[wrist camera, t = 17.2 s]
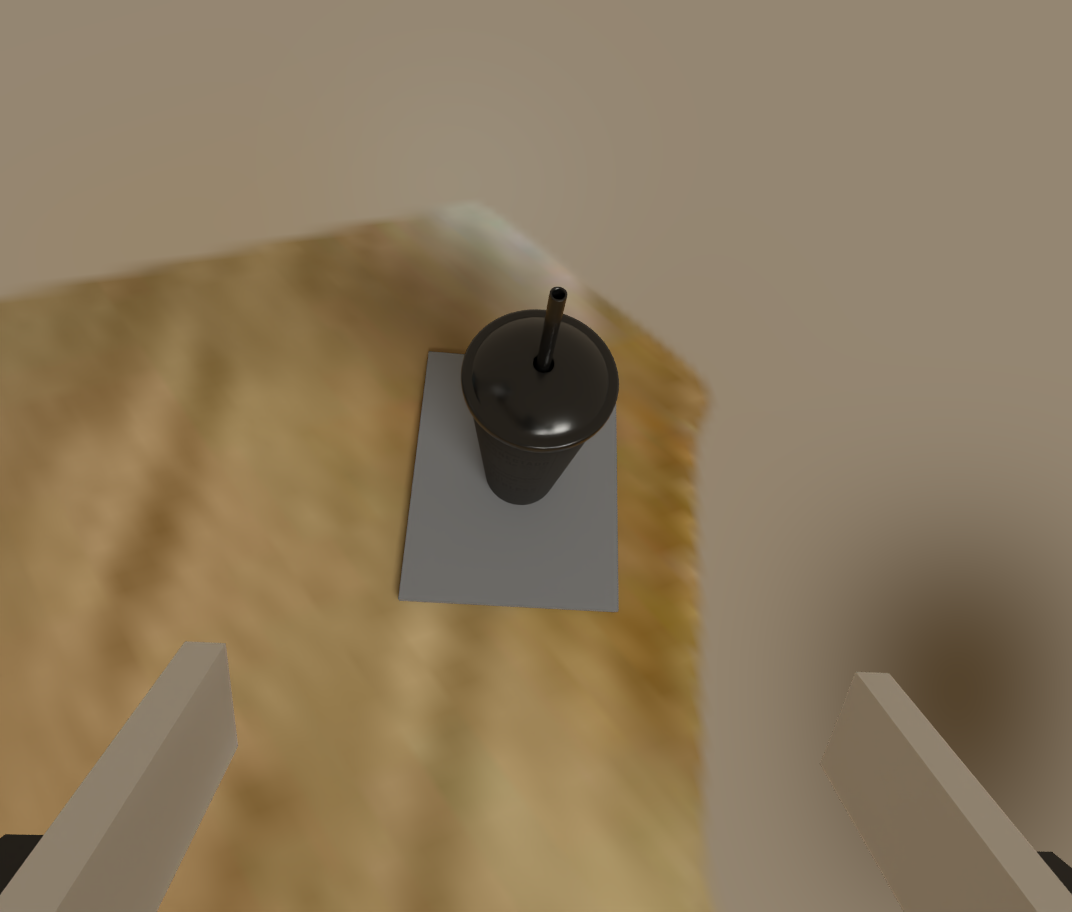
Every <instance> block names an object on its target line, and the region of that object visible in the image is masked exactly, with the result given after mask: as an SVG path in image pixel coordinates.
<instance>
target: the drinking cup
mask: <svg viewBox="0 0 1072 912" xmlns="http://www.w3.org/2000/svg"><path fill="white" fill-rule="evenodd" d="M566 299H567V292H566V290H565V289H564V288H562V287H554V288H552V289H551V291H550V294H549V299H548V304H547V310H523V311H517V312H513V313H510V314H507V315H504V316H502V317H500V318H498V319H496V320H494V321H493V322H491V323H490V324H488V325H487V326H486V327H484V328H483V329H482V330H481V331H480V332H479V333H478V334H477V335H476V336H475V338H474V339H473V340H472V342H471V343H470V345H469V347H468V348H467V350H466V353H465V355H464V359H463V362H462V368H461V387H462V393H463V396H464V400H465V403H466V405H467V407H468V409H469V411H470V413H471V415H472V416H473V419H474V424H475V428H476V433H477V438H478V442H479V447H480V452H481V457H482V461H483V466H484V471H485V475H486V480H487V483H488V485H489V487H490V489H491V490H492V491H493V493H494V494H495V495H496V496H497V497H499V498H500V499H502V500H503V501H505V502H508V503H511V504H515V505H527V504H532V503H534V502H537V501H539V500H540V499H542V498H543V497H544V496H545V495H546V494H547V493H548V492H549V491H550V489H551V488H552V487H553V485H554V484H555V482H556V481H557V480H558V478H559V477H560V476H561V474H562V473H563V472H564V470H565V469H566V467H567V466H568V465H569V463H570V462H571V461H572V459H573V458H574V457H575V455H576V454H577V452H578V451H579V450H580V448H581V447H582V446H583V444H584V443H585V442H586V441H587V440H589V439H590V438H591V437H593V436H594V435H595V434H596V433H597V432H598V431H599V430H600V429H601V428H602V427H603V426H604V425H605V423H606V422H607V420H608V419H609V417H610V415H611V413H612V411H613V409H614V407H615V404H616V401H617V397H618V391H619V378H618V371H617V367H616V364H615V361H614V358H613V356H612V354H611V352H610V350H609V349H608V347H607V346H606V344H605V343H604V342H603V340H602V339H601V338H600V337H599V336H598V335H597V334H596V333H595V332H594V331H593V330H592V329H591V328H589V327H588V326H587V325H585V324H583V323H582V322H580V321H578V320H576V319H575V318H572V317H570V316H568V315H565V314H563V311H564V307H565V303H566Z"/></svg>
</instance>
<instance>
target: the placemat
mask: <svg viewBox="0 0 1072 912" xmlns="http://www.w3.org/2000/svg"><path fill="white" fill-rule="evenodd" d="M464 355H465V354H454V353H443V352H431V351H429V354H428V362H427V371H426V379H425V387H424V395H423V403H422V411H421V419H420V427H419V435H418V444H417V452H416V460H415V468H414V476H413V484H412V492H411V500H410V509H409V517H408V525H407V533H406V541H405V549H404V557H403V565H402V574H401V582H400V590H399V598H398V599H399V601H417V602H435V603H454V604H473V605H492V606H510V607H529V608H548V609H566V610H585V611H604V612H618V533H617V447H616V404H615V407H614V409H613V411H612V413H611V415H610V417H609V419H608V420H607V422H606V423H605V425H604V426H603V427H602V428H601V429H600V430H599V431H598V432H597V433H596V434H595V435H594V436H593V437H591V438H590V439H589V440H587V441H586V442H585V443H584V444H583V446H582V447H581V448H580V450H579V451H578V452H577V454H576V455H575V457H574V458H573V459H572V461H571V462H570V463H569V465H568V466H567V467H566V469H565V470H564V472H563V473H562V474H561V476H560V477H559V478H558V480H557V481H556V482H555V484H554V485H553V487H552V488H551V489H550V491H549V492H548V493H547V494H546V495H545V496H544V497H543V498H542V499H540V500H539V501H537V502H534V503H532V504H527V505H515V504H511V503H508V502H505V501H503V500H502V499H500V498H499V497H497V496H496V495H495V494H494V493H493V491H492V490H491V489H490V487H489V485H488V483H487V480H486V475H485V471H484V466H483V461H482V457H481V452H480V447H479V442H478V438H477V433H476V428H475V424H474V419H473V416H472V415H471V413H470V411H469V409H468V407H467V405H466V403H465V400H464V396H463V393H462V387H461V368H462V362H463V359H464Z"/></svg>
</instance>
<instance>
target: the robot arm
mask: <svg viewBox="0 0 1072 912" xmlns="http://www.w3.org/2000/svg"><path fill="white" fill-rule="evenodd" d="M237 747H238V742H237V734H236V725H235V717H234V709H233V701H232V692H231V684H230V676H229V667H228V659H227V651H226V643H207V642H184V644H183V645H182V646H181V648H180V649H179V651H178V652H177V653H176V655H175V656H174V657H173V659H172V660H171V662H170V663H169V664H168V666H167V667H166V668H165V670H164V671H163V672H162V674H161V675H160V677H159V678H158V679H157V681H156V682H155V683H154V685H153V686H152V688H151V689H150V690H149V692H148V693H147V694H146V696H145V697H144V699H143V700H142V701H141V703H140V704H139V705H138V707H137V708H136V709H135V711H134V712H133V714H132V715H131V716H130V718H129V719H128V720H127V722H126V723H125V725H124V726H123V727H122V729H121V730H120V731H119V733H118V734H117V735H116V737H115V738H114V740H113V741H112V742H111V744H110V745H109V746H108V748H107V749H106V751H105V752H104V753H103V755H102V756H101V757H100V759H99V760H98V762H97V763H96V764H95V766H94V767H93V768H92V770H91V771H90V772H89V774H88V775H87V777H86V778H85V779H84V781H83V782H82V783H81V785H80V786H79V788H78V789H77V790H76V792H75V793H74V794H73V796H72V797H71V799H70V800H69V801H68V803H67V804H66V805H65V807H64V808H63V809H62V811H61V812H60V814H59V815H58V816H57V818H56V819H55V820H54V822H53V823H52V825H51V826H50V827H49V829H48V830H47V831H46V833H45V834H44V835H10V834H5V835H4V836H3V837H1V838H0V912H157V910H158V908H159V906H160V904H161V902H162V900H163V898H164V896H165V894H166V892H167V890H168V888H169V885H170V883H171V881H172V879H173V877H174V875H175V873H176V871H177V869H178V867H179V865H180V863H181V861H182V859H183V857H184V855H185V853H186V851H187V849H188V847H189V845H190V843H191V841H192V839H193V837H194V835H195V833H196V830H197V828H198V826H199V824H200V822H201V820H202V818H203V816H204V814H205V812H206V810H207V808H208V806H209V804H210V802H211V800H212V798H213V796H214V794H215V792H216V790H217V788H218V786H219V784H220V782H221V780H222V778H223V775H224V773H225V771H226V769H227V767H228V765H229V763H230V761H231V759H232V757H233V755H234V753H235V751H236V749H237ZM820 765H821V767H822V768H823V771H824V772H825V774H826V776H827V778H828V779H829V781H830V783H831V785H832V786H833V788H834V790H835V792H836V793H837V795H838V797H839V799H840V801H841V802H842V804H843V806H844V807H845V809H846V811H847V813H848V814H849V816H850V818H851V820H852V822H853V823H854V825H855V827H856V829H857V831H858V832H859V834H860V836H861V838H862V839H863V841H864V843H865V845H866V846H867V848H868V850H869V852H870V853H871V855H872V857H873V859H874V860H875V862H876V864H877V866H878V867H879V869H880V871H881V873H882V875H883V876H884V878H885V880H886V881H887V883H888V885H889V887H890V888H891V890H892V892H893V894H894V895H895V897H896V899H897V901H898V903H899V904H900V906H901V908H902V910H903V912H1072V868H1071V867H1070V866H1068V865H1067V864H1066V863H1065V862H1063V861H1062V860H1061V859H1060V858H1059V857H1057V856H1056V855H1055V854H1054V853H1053V852H1036V851H1035V849H1034V848H1033V847H1032V846H1031V845H1030V843H1029V842H1028V841H1027V840H1026V839H1025V837H1024V836H1023V835H1022V834H1021V832H1020V831H1019V830H1018V829H1017V828H1016V826H1015V825H1014V824H1013V823H1012V822H1011V820H1010V819H1009V818H1008V817H1007V816H1006V814H1005V813H1004V812H1003V811H1002V810H1001V808H1000V807H999V806H998V805H997V803H996V802H995V801H994V800H993V799H992V797H991V796H990V795H989V794H988V793H987V791H986V790H985V789H984V788H983V786H982V785H981V784H980V783H979V782H978V780H977V779H976V778H975V777H974V776H973V774H972V773H971V772H970V771H969V770H968V768H967V767H966V766H965V765H964V763H963V762H962V761H961V760H960V759H959V758H958V756H957V755H956V754H955V753H954V751H953V750H952V749H951V748H950V746H949V745H948V744H947V743H946V742H945V740H944V739H943V738H942V737H941V736H940V734H939V733H938V732H937V731H936V730H935V728H934V727H933V726H932V725H931V724H930V722H929V721H928V720H927V719H926V718H925V716H924V715H923V714H922V713H921V711H920V710H919V709H918V708H917V706H916V705H915V704H914V703H913V702H912V701H911V699H910V698H909V697H908V696H907V694H906V693H905V692H904V691H903V690H902V688H901V687H900V686H899V685H898V684H897V682H896V681H895V680H894V679H893V678H892V676H891V675H890V674H889V673H870V672H855V675H854V678H853V680H852V683H851V685H850V688H849V690H848V693H847V696H846V698H845V701H844V703H843V706H842V708H841V711H840V714H839V716H838V719H837V721H836V724H835V726H834V729H833V731H832V734H831V737H830V739H829V742H828V744H827V747H826V750H825V752H824V755H823V757H822V760H821V763H820Z"/></svg>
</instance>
